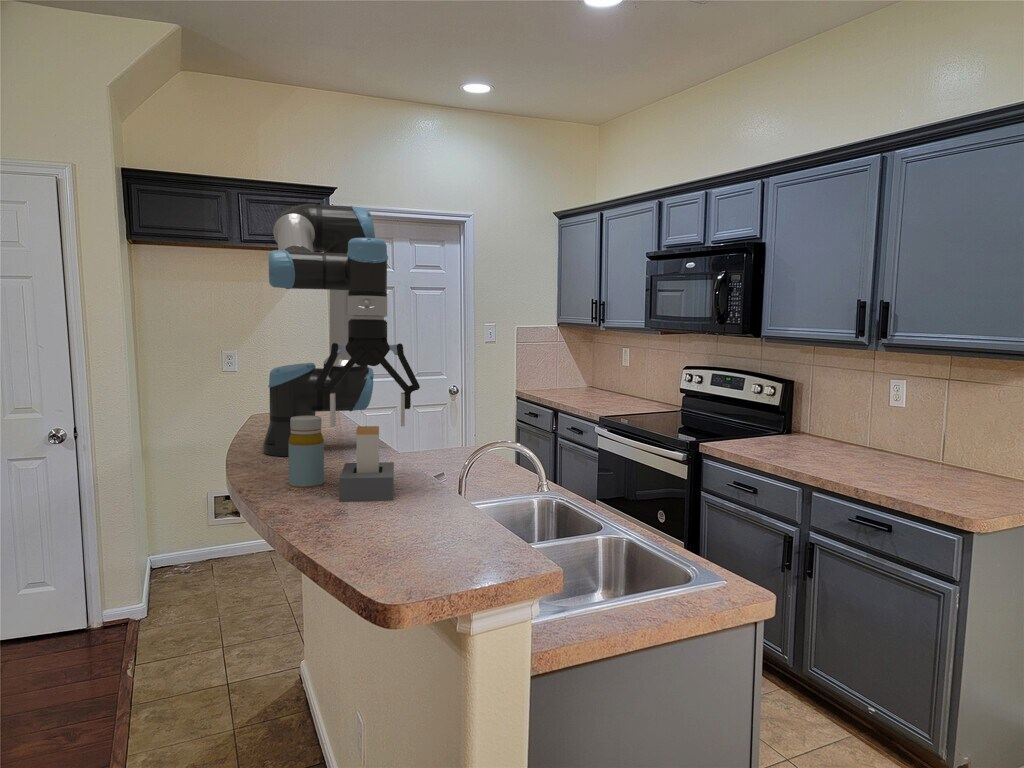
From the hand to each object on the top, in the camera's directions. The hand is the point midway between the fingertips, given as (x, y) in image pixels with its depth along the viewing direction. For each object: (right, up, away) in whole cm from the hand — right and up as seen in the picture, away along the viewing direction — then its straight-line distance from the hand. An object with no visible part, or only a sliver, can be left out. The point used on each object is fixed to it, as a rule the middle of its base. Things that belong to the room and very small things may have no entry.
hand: (368, 426), depth 134 cm
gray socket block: (0, -14, +2) cm, 14 cm away
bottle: (-14, -14, +7) cm, 21 cm away
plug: (0, -13, +2) cm, 13 cm away
